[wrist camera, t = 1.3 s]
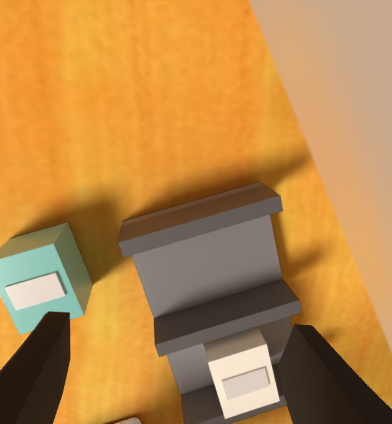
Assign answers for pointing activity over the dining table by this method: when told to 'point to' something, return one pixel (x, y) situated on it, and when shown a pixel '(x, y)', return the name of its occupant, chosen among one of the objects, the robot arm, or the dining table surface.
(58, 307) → the teal box
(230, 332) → the gray shelf unit
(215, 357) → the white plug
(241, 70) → the dining table surface
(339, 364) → the robot arm
